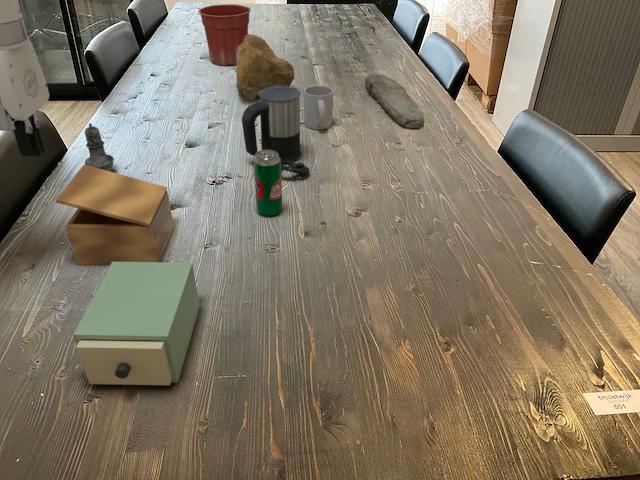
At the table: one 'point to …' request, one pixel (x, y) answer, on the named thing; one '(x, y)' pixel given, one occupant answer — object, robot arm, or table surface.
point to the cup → (318, 107)
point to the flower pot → (225, 31)
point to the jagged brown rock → (260, 67)
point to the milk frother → (276, 126)
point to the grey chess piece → (97, 150)
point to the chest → (119, 237)
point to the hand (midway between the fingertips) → (33, 153)
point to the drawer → (125, 362)
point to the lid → (113, 195)
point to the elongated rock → (395, 100)
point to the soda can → (268, 182)
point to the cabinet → (145, 307)
